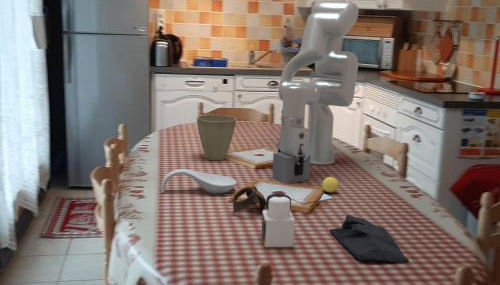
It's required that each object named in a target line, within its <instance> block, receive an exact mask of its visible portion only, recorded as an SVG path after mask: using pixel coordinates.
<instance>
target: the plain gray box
mask: <svg viewBox="0 0 500 285" xmlns="http://www.w3.org/2000/svg"><path fill="white" fill-rule="evenodd" d="M298 155H299V154H298ZM272 156H273V157H272V179H274V180H276V181H279V182H280V183H283V184H285V183H288V184H292V183H293V184H294V183H299V182H304V181H308V180H310V175H311V164H310V157H311V155H310V154H309V156H308V158H307V160H306V161H305V163H304V164H303V175H299V176H295V164H296V161H295V160H296V157H294V156H291V155H288V154H285V153H283V152H278V151H277V152H273V155H272ZM300 158H301V157H298V159H300Z"/></svg>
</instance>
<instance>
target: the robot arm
mask: <svg viewBox="0 0 500 285" xmlns="http://www.w3.org/2000/svg"><path fill="white" fill-rule="evenodd" d="M310 12H311V13H310V14H309V16H308V17H307V18H306V23H305V27H304V30H303V36H302V40H301V45H300V50H299V52H298V53H297V54H296V55H295V56H293V57H292V58H291V59H290V60H288V61H289V62H288V63H287V64H286V65H285V67H284V68H283V70H282V72H281V76H280V81H279V83H278V84H279V85H278V92H277V93H278V97H279V99H280V100H281V101H282V109H283V112H282V113H281V116H282V126H281V125H280V131H279V141H278V142H277V143H276V149H277V153H278V152H283V153H285V154H288V155H291V156H294V157H296V160H295V161H296V164H295V176H299V175H303V164H304V163H305V161H306V160H307V158H308V156H309V154H310V155H311V157H310V165H314V166H315V165H316V166H317V165H318V166H326V165H332V164H334V163H335V162H336V158H335V157H334V156H337V155H340V154H342V153H341V152H342V151H341V149H333V134H334V133H333V132H334V121H335V120H334V114H333V112H332V109H331V108H330V106H333V107H341V108H342V107H349V106H351V105H352V104H353V101H354V97H355V91H356V83H357V76H358V71H359V70H358V68H359V60H358V57H357V55H356V54H355V53H354V52H352V51H343V50H342V51H341V45H342V37H345V36H346V35H347V34H348V33H349V32H350V31H351V29H352V28H353V26H355V24H356V22H357V20H358V18H359V8H358V6H357V4H356V3H355V2H354V1H353V2H352V1H335V0H334V1H333V0H323V1H318V2H315V3H313V4H312V6H311V10H310ZM312 64H314V70H315V73H316V74H317V75H319V76H324V77H333V78H334V77H335V78H342V80H340V79H339V80H336V79H324V78H316V79H312V80H311V81H309V82H308V81H307V82H306V81H297V80H296V81H295V80H293V78H294V76H295V75H296V73H297V72H298V71H299V70H301V69H303V68H305V67H308V66H309V65H310V66H311V65H312ZM306 105H308V119H307V129H306V126H305V121H306V120H305V118H306V117H305V116H306ZM298 154H299V155H298ZM298 157H301V158H300V159H298Z"/></svg>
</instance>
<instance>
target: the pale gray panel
mask: <svg viewBox="0 0 500 285" xmlns="http://www.w3.org/2000/svg"><path fill="white" fill-rule="evenodd" d="M331 199H334V196H333V197H332V196H330V195H328V194H326V193H324V194H323V195H322V197H321V199H320V200H319V201H318V202H321V201H326V200H331Z"/></svg>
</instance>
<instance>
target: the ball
mask: <svg viewBox="0 0 500 285" xmlns="http://www.w3.org/2000/svg"><path fill="white" fill-rule="evenodd" d="M338 188H339V181H338V180H337V179H336V178H335V177H333V176H328V177H325V178H324V179H323V181H322V189H323V190H324V192H326V193H328V194H329V193H335V192H336V191H337V190H338Z"/></svg>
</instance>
